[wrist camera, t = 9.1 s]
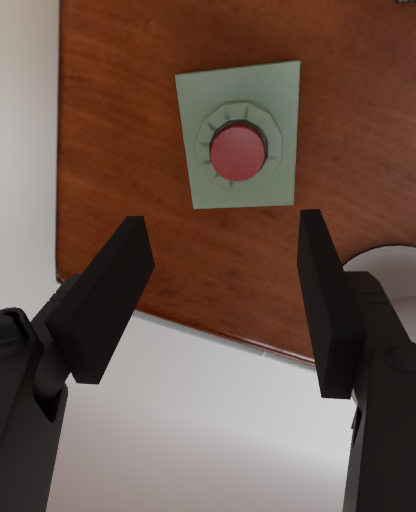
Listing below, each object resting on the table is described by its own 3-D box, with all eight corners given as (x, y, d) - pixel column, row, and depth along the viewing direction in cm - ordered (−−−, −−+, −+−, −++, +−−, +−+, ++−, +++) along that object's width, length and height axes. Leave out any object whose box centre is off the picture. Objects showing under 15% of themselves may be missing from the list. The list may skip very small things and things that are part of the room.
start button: (210, 124, 26) (207, 129, 24) (264, 120, 25) (264, 124, 24) (215, 176, 28) (213, 183, 27) (264, 173, 27) (264, 180, 26)
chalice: (298, 304, 40) (317, 419, 27) (372, 215, 32) (446, 320, 19) (391, 343, 41) (449, 469, 29) (483, 267, 33) (616, 395, 21)
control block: (179, 73, 27) (169, 76, 24) (297, 59, 25) (303, 60, 22) (196, 200, 34) (190, 217, 30) (291, 196, 32) (295, 213, 29)
